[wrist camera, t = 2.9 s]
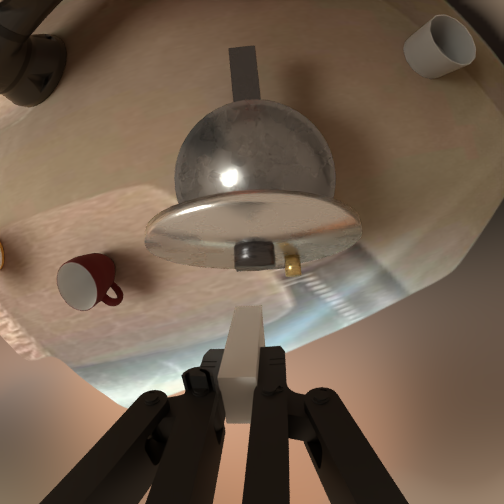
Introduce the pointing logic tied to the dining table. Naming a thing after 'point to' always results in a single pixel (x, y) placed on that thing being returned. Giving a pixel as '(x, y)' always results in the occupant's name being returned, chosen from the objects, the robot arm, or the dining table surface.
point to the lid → (253, 230)
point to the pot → (253, 144)
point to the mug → (88, 281)
